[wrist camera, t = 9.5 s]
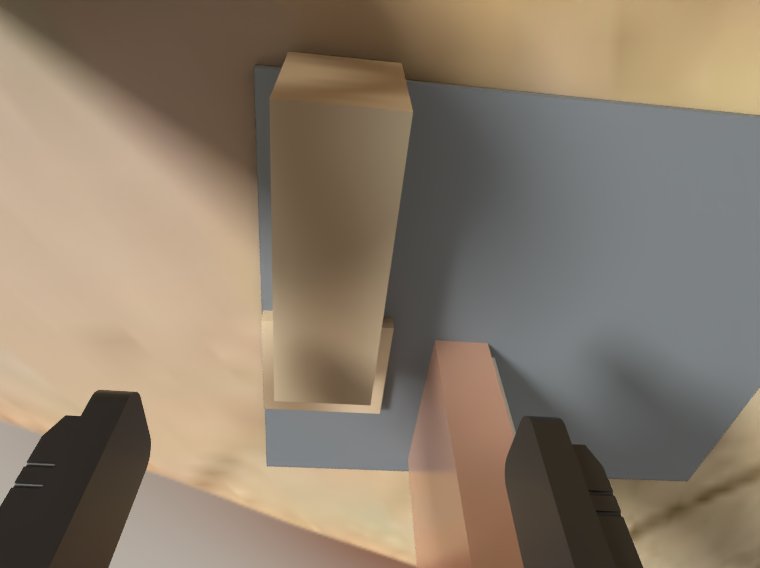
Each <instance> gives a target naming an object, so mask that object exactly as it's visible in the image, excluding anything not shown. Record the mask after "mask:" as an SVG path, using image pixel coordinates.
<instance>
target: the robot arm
mask: <svg viewBox="0 0 760 568" xmlns="http://www.w3.org/2000/svg"><path fill="white" fill-rule="evenodd" d="M150 450H151V439H150V434H149V430H148V426H147V422H146V418H145V414H144V409H143V405H142V401H141V397H140V395H139V393H137V392H127V391H109V390H98V391H96V392H95V393H94V394H93V395H92V397H91V399H90V400H89V402H88V404H87V406H86V408H85V409H84V411H83V413H82V415H81V416H65V417H63V418H62V419H61V420H60V421H59V422H58V423H57V424H55V425H54V426H53V427H52V428H51V429H50V430H49V431H48V432H46V433H45V434H44V435H43V436H42V437H41V439H40V441H39V442H38V444H37V446H36V447H35V449H34V451H33V452H32V454H31V456H30V457H29V459H28V461H27V466H26V467H23V469H22V471H21V473H20V475H19V476H18V478H17V479H16V481H15V486H14V487H13V488H11V489H10V491H9V493H8V494H7V496H6V498H5V499H4V501H3V503H2V504H1V506H0V568H108V567H109V564H110V562H111V559H112V557H113V554H114V551H115V548H116V546H117V544H118V541H119V539H120V536H121V533H122V531H123V528H124V526H125V523H126V520H127V518H128V515H129V512H130V510H131V507H132V504H133V502H134V500H135V497H136V494H137V492H138V489H139V486H140V484H141V481H142V479H143V476H144V474H145V471H146V468H147V465H148V461H149V457H150ZM505 484H506V490H507V494H508V499H509V503H510V508H511V512H512V517H513V521H514V526H515V530H516V535H517V539H518V544H519V548H520V553H521V557H522V562H523V567H524V568H643V566H642V564H641V561H640V559H639V556H638V554H637V551H636V548H635V546H634V543H633V541H632V538H631V536H630V533H629V531H628V528H627V526H626V523H625V521H624V518H623V517H621V511H620V508H619V505H618V503H617V500H616V498H615V496H613V490H612V488H611V485H610V483H609V480H608V478H607V475H606V473H605V470H604V467H603V466H602V465H601V463H600V462H599V461H598V460H597V459H596V457H595V456H594V455H593V454H592V452H591V451H590V450H589V449H588V448H587V446H586V445H579V444H572V443H571V440H570V437H569V434H568V432H567V429H566V426H565V424H564V422H563V420H562V419H561V418H558V417H542V416H524V417H523V418H522V419H521V422H520V424H519V427H518V429H517V432H516V434H515V437H514V439H513V442H512V445H511V447H510V450H509V452H508V455H507V458H506V462H505Z"/></svg>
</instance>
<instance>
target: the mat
mask: <svg viewBox="0 0 760 568" xmlns="http://www.w3.org/2000/svg"><path fill="white" fill-rule="evenodd" d="M281 68H282V67H273V66H263V65H255V67H254V85H255V116H256V147H257V178H258V209H259V240H260V271H261V302H262V314H263V310H268V311H273V294H272V229H271V165H270V100H269V98H270V95H271V93H272V91H273V88H274V86H275V83H276V81H277V78H278V76H279V73H280V71H281ZM406 83H407V88H408V92H409V96H410V101H411V105H412V109H413V116H412V123H411V130H410V137H409V143H408V150H407V157H406V164H405V171H404V178H403V185H402V192H401V199H400V206H399V212H398V219H397V226H396V233H395V240H394V247H393V254H392V261H391V268H390V275H389V281H388V288H387V295H386V302H385V309H384V316H383V318H393V326H394V330H393V336H392V342H391V348H390V354H389V360H388V366H387V373H386V379H385V385H384V391H383V397H382V403H381V409H380V414H372V413H350V412H328V411H306V410H284V409H265V426H266V457H267V466H274V467H302V468H331V469H359V470H387V471H409V466H408V457H409V452H410V448H411V443H412V439H413V435H414V430H415V426H416V421H417V417H418V412H419V408H420V404H421V399H422V395H423V390H424V386H425V382H426V377H427V373H428V368H429V364H430V359H431V355H432V351H433V346H434V342H435V340H439V341H457V342H474V343H488V346H489V349H490V353H491V357H492V358H495V361H496V364H497V368H498V371H499V375H500V378H501V382H502V385H503V389H504V392H505V396H506V399H507V403H508V407H509V410H510V414H511V417H512V421H513V424H514V428H515V431H516V432H517V429H518V427H519V424H520V422H521V419H522V418H523V417H524V416H542V417H558V418H561V419H562V420H563V422H564V424H565V426H566V429H567V432H568V434H569V437H570V440H571V443H572V444H579V445H586V446H587V448H588V449H589V450H590V451H591V452H592V454H593V455H594V456H595V457H596V459H597V460H598V461H599V462H600V463H601V465H602V466H603V467H604V470H605V473H606V475H607V478H611V479H639V480H667V481H688V480H689V479H690V477H691V476H692V475H693V473H694V472H695V471H696V469H697V468H698V467H699V466H700V464H701V463H702V462H703V460H704V459H705V458H706V456H707V455H708V454H709V453H710V451H711V450H712V449H713V447H714V446H715V445H716V443H717V442H718V441H719V440H720V438H721V437H722V436H723V434H724V433H725V432H726V430H727V429H728V428H729V427H730V425H731V424H732V423H733V421H734V420H735V419H736V417H737V416H738V415H739V414H740V412H741V411H742V410H743V408H744V407H745V406H746V404H747V403H748V402H749V401H750V399H751V398H752V397H753V395H754V394H755V393H756V391H757V390H758V389H759V388H760V115H751V114H741V113H731V112H721V111H711V110H701V109H691V108H681V107H671V106H661V105H652V104H642V103H632V102H622V101H612V100H602V99H592V98H582V97H572V96H562V95H552V94H542V93H532V92H522V91H512V90H502V89H492V88H482V87H472V86H462V85H452V84H442V83H432V82H422V81H412V80H406Z"/></svg>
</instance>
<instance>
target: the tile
mask: <svg viewBox="0 0 760 568" xmlns="http://www.w3.org/2000/svg"><path fill="white" fill-rule="evenodd" d="M515 434H516V431H515V428H514V424H513V421H512V417H511V414H510V410H509V407H508V403H507V399H506V396H505V392H504V389H503V385H502V382H501V378H500V375H499V371H498V368H497V364H496V361H495V358H492V357H491V353H490V349H489V346H488V343H474V342H457V341H439V340H435V342H434V346H433V351H432V355H431V359H430V364H429V368H428V373H427V377H426V382H425V386H424V390H423V395H422V399H421V404H420V408H419V412H418V417H417V421H416V426H415V430H414V435H413V439H412V443H411V448H410V452H409V457H408V466H409V478H410V490H411V502H412V514H413V526H414V538H415V549H416V561H417V568H524V567H523V562H522V557H521V553H520V548H519V544H518V539H517V535H516V530H515V526H514V521H513V517H512V512H511V508H510V503H509V499H508V494H507V490H506V484H505V462H506V458H507V455H508V452H509V450H510V447H511V445H512V442H513V439H514V437H515Z"/></svg>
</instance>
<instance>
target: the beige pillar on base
mask: <svg viewBox="0 0 760 568" xmlns="http://www.w3.org/2000/svg"><path fill="white" fill-rule="evenodd" d="M269 100H270V165H271V229H272V294H273V311H268V310H263V314H262V319H261V333H262V363H263V394H264V409H284V410H306V411H328V412H350V413H372V414H380V409H381V403H382V397H383V391H384V385H385V379H386V373H387V366H388V360H389V354H390V348H391V342H392V336H393V330H394V326H393V318H383V316H384V309H385V302H386V295H387V288H388V281H389V275H390V268H391V261H392V254H393V247H394V240H395V233H396V226H397V219H398V212H399V206H400V199H401V192H402V185H403V178H404V171H405V164H406V157H407V150H408V143H409V137H410V130H411V123H412V116H413V109H412V105H411V101H410V96H409V92H408V88H407V83H406V79H405V75H404V70H403V66H402V63H396V62H386V61H376V60H367V59H357V58H348V57H338V56H328V55H319V54H309V53H299V52H290V51H288V54H287V56H286V59H285V61H284V63H283V66H282V68H281V71H280V73H279V76H278V78H277V81H276V83H275V86H274V88H273V91H272V93H271V95H270V98H269Z"/></svg>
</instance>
